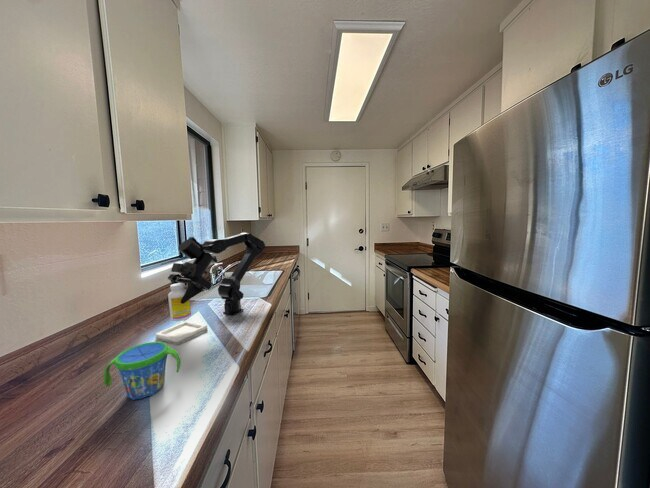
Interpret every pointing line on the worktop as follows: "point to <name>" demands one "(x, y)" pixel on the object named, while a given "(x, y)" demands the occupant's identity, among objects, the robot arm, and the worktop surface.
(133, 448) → the worktop surface
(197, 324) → the tray
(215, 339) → the worktop surface
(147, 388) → the snack cup
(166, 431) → the worktop surface
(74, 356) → the worktop surface
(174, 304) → the supplement bottle
